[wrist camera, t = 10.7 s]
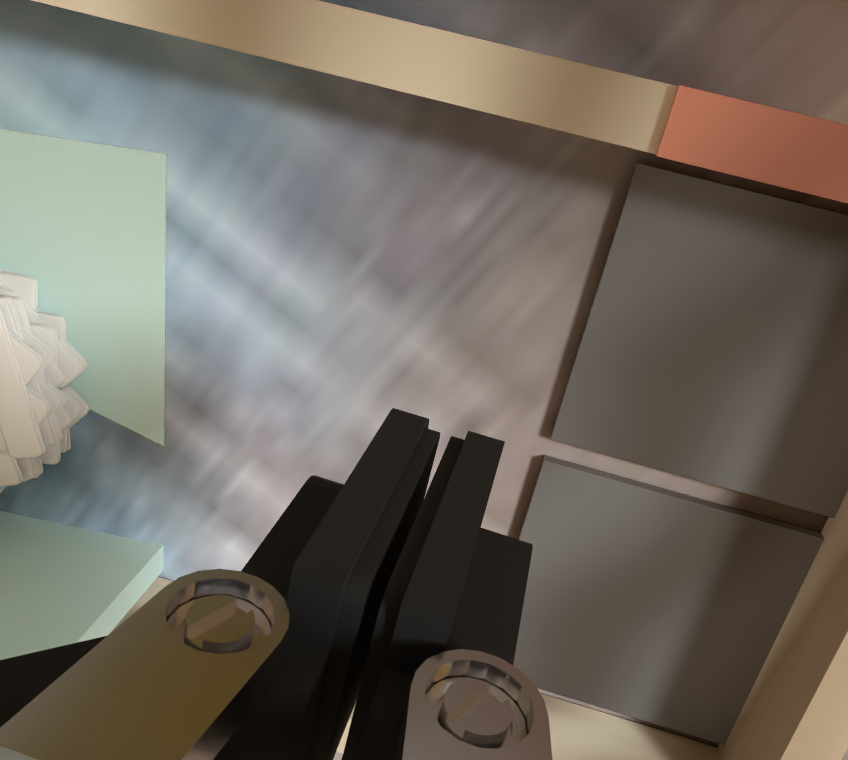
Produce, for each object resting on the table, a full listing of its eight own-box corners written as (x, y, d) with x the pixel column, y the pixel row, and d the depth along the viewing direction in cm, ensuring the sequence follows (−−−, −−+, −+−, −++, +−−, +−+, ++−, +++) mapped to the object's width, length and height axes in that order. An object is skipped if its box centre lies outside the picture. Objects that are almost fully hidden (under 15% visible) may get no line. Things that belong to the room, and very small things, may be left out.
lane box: (1056, 180, 16) (1248, 216, 12) (744, 791, 23) (787, 970, 18) (-347, -156, 19) (-643, -235, 14) (-273, 477, 25) (-461, 564, 21)
